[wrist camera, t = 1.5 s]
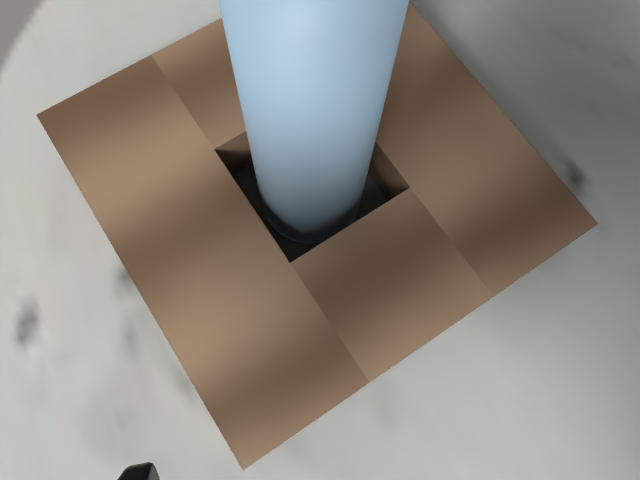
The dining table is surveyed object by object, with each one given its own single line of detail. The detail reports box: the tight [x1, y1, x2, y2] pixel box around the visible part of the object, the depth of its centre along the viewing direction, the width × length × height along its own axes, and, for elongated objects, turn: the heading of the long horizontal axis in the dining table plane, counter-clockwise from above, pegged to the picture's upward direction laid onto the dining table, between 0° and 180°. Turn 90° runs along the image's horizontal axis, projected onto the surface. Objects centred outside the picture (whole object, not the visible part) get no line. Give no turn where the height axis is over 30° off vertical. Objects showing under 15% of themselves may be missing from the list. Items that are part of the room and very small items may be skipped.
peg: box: [218, 0, 409, 244], centre depth 19 cm, size 4×4×14 cm
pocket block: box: [37, 1, 598, 470], centre depth 24 cm, size 16×16×3 cm
